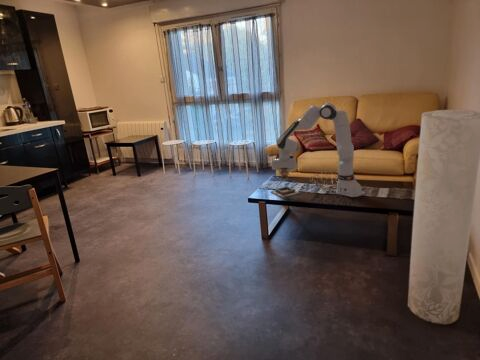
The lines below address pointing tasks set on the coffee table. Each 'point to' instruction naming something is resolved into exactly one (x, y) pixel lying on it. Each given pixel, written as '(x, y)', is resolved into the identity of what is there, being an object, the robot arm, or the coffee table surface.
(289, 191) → the pocket board
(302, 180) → the coffee table surface
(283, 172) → the bobbin
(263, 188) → the coffee table surface
